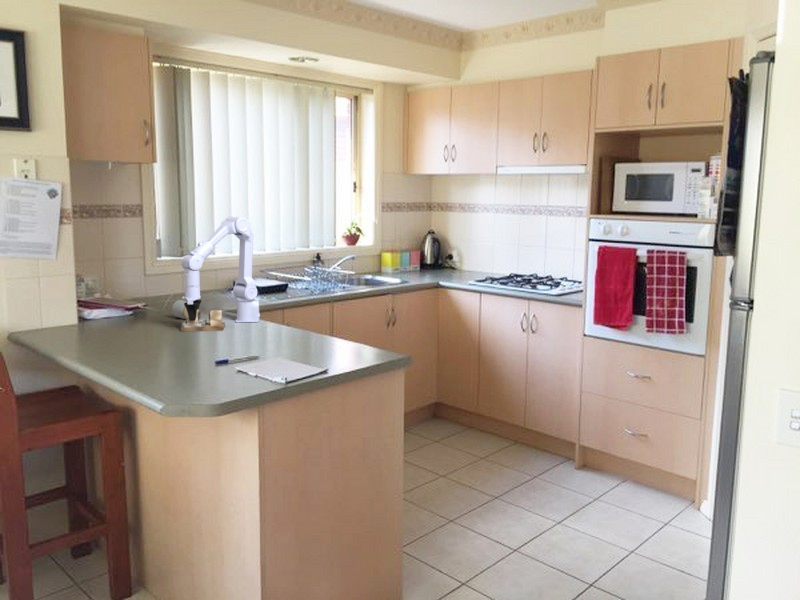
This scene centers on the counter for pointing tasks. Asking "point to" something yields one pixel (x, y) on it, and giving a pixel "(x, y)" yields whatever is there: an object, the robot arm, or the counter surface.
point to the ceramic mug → (179, 309)
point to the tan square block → (196, 318)
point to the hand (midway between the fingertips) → (193, 319)
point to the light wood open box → (215, 324)
